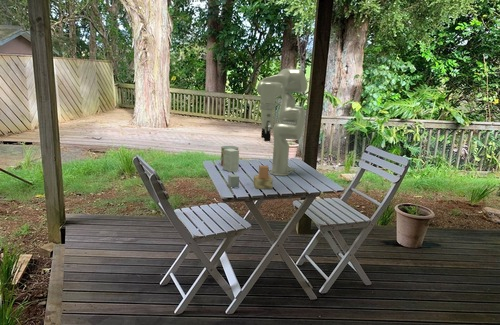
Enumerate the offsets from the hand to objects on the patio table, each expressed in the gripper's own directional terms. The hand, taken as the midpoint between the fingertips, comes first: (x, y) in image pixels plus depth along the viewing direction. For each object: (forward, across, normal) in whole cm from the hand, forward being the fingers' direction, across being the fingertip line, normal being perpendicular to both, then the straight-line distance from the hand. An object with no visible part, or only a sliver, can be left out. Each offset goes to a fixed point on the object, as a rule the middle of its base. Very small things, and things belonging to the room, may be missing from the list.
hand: (265, 139), depth 197 cm
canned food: (+26, +49, +15) cm, 57 cm away
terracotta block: (+20, 0, 0) cm, 21 cm away
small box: (+26, +35, +15) cm, 46 cm away
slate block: (+26, -1, +16) cm, 30 cm away
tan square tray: (+26, 0, 0) cm, 26 cm away
